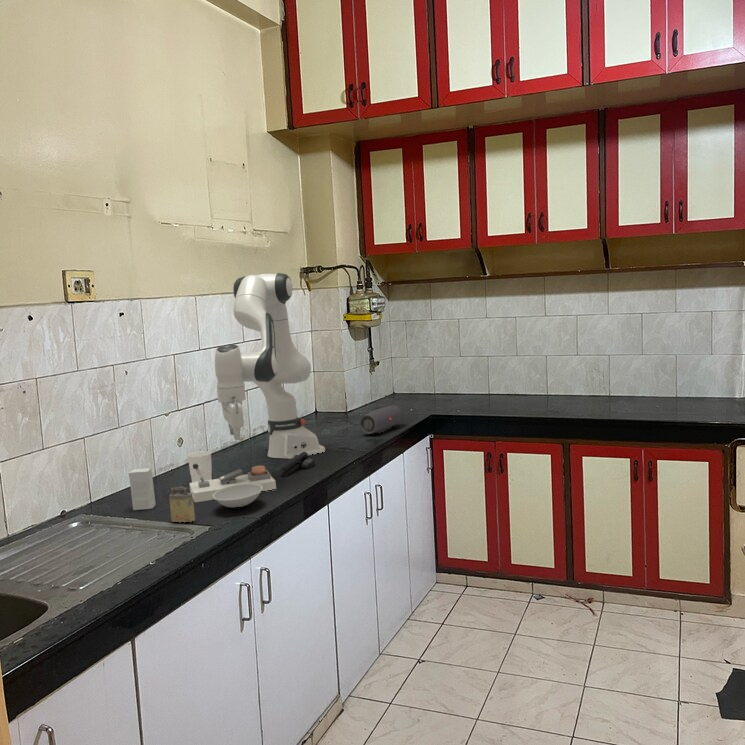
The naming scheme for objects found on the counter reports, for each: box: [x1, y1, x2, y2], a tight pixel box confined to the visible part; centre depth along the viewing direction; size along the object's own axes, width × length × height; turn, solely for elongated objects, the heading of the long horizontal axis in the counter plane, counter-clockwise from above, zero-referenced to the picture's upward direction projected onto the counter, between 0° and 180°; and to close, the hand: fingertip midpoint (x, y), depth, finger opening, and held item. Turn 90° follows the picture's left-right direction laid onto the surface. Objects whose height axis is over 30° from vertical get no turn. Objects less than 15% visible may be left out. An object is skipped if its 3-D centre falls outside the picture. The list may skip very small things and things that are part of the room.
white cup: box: [187, 450, 213, 483], centre depth 257 cm, size 8×8×10 cm
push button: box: [251, 465, 266, 476], centre depth 245 cm, size 4×4×2 cm
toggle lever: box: [193, 464, 204, 482], centre depth 239 cm, size 2×2×7 cm
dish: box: [212, 483, 263, 509], centre depth 223 cm, size 18×14×5 cm
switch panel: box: [189, 469, 277, 503], centre depth 243 cm, size 26×14×5 cm, turn 109°
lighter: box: [168, 485, 196, 524], centre depth 213 cm, size 7×4×10 cm, turn 77°
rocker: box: [218, 468, 244, 483], centre depth 242 cm, size 8×4×1 cm, turn 109°
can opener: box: [280, 452, 315, 477], centre depth 264 cm, size 18×7×6 cm, turn 153°
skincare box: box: [128, 467, 156, 511], centre depth 230 cm, size 6×4×12 cm
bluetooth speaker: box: [358, 405, 403, 435], centre depth 322 cm, size 23×9×10 cm, turn 148°
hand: (235, 437), depth 242 cm, fingers open, 8 cm apart
